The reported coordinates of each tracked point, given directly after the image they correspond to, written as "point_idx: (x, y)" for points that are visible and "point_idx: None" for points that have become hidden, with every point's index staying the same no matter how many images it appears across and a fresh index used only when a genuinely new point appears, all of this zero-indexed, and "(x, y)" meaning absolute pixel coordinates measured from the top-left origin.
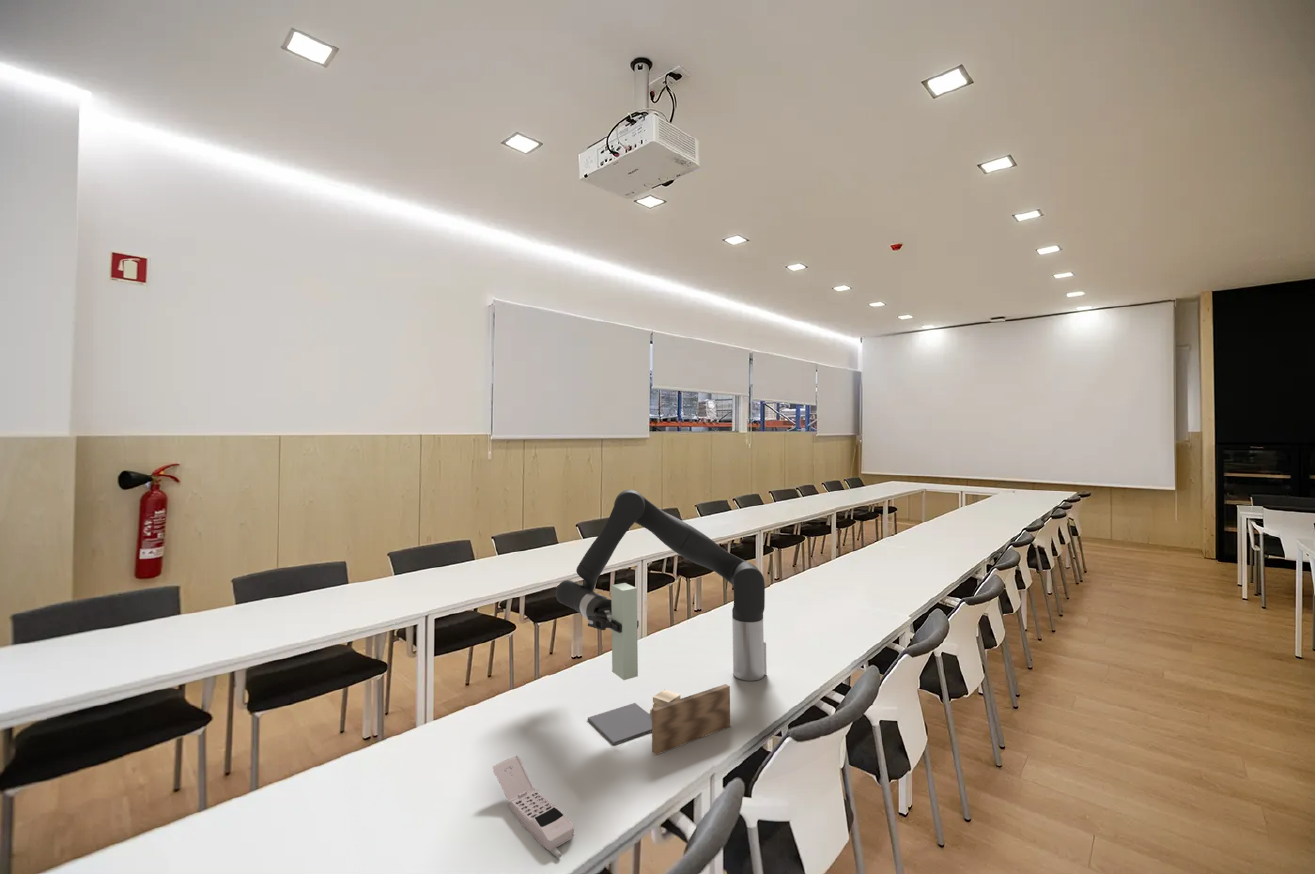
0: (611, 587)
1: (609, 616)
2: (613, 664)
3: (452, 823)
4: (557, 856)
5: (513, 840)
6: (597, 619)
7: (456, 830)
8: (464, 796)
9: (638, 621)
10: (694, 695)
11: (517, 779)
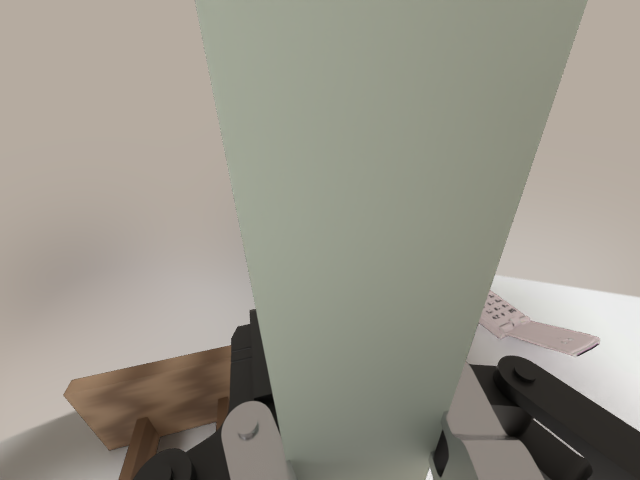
0: (580, 3)
1: (481, 439)
2: None
3: (593, 326)
4: None
5: (493, 291)
6: (601, 408)
7: (576, 315)
8: (628, 372)
9: (238, 328)
10: (186, 363)
11: (538, 335)
